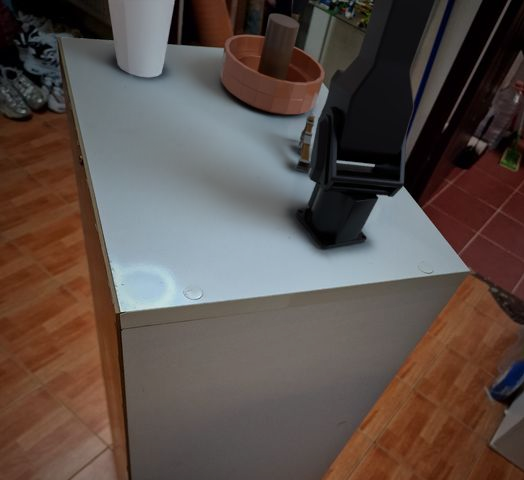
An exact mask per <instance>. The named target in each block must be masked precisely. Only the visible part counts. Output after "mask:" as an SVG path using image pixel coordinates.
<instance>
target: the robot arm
mask: <svg viewBox="0 0 524 480" xmlns="http://www.w3.org/2000/svg"><path fill="white" fill-rule="evenodd" d="M310 1H311V0H291V10H290V11H291V14H292V15H297V16H299V15H301V13H302V12H303V11H304V9H305V8H306V6H307V5H308V4H309V2H310ZM436 1H437V0H374V1H373V4H372V8H371V12H370V14H369V18H368V22H367V25H366V29H365V32H364V35H363V39H362V42H361V46H360V49H359V52H358V54H357V56H356V57H355V59H353V61H352V62H351V63H350V64H349V65H348V66H347V67H346V68H345V70H344V69H339V68H338V69H337V70H336V71H335V72H334V73H333V75H332V76H331V78H330V82H329V87H328V91H327V95H326V96H327V97H326V99H325V103H324V105H323V107H322V110H321V113H320V115H319V116H318V118H317V124H316V128H315V132H314V138H313V142H312V143H313V144H312V149H311V153H310V158H309V161H310V170H309V175H308V178H309V180H310V181H312V182H314V183H315V184H314V187H313V189H312V192H311V195H310V198H309V200H308V202H307V206H308V207H304V208H298V209H297V210H296V211H295V216H296V217H297V218H298V220H299V221H300V222H301V223H302V225H303V226H304V228H305V229H306V230H307V231H308V232H309V234H310V235H311V236H312V238H313V239H314V241H315V242H316V243H317V245H318V246H319V247H320V248H321V249H323V250H329V249H335V248H341V247H344V246H345V247H346V246H351V245H356V244H362V243H365V242H367V239H368V237H367V236H366V235H365V233H364V232H363V228H364V227H365V225H366V223H367V221H368V220H369V217H370V215H371V214H372V211H373V209H374V208H375V206H376V204H377V202H378V200H379V196H385V197H386V196H387V197H388V198H394V197H395V195H396V194H398V192H400V190H402V188H403V187H404V184H405V171H406V155H407V153H406V152H407V136H408V129H409V126H410V123H411V120H412V116H413V113H414V109H415V100H414V91H413V84H412V83H413V82H412V75H411V72H412V68H413V65H414V62H415V59H416V55H417V53H418V50H419V48H420V45H421V42H422V39H423V37H424V35H425V31H426V29H427V26H428V23H429V20H430V18H431V15H432V12H433V10H434V7H435V4H436ZM338 161H339V162H338ZM343 162H349V163H343ZM352 163H355V164H352ZM356 163H358V164H356ZM361 164H363V165H361ZM364 164H365V165H364ZM366 164H367V165H366ZM370 165H371V166H370ZM372 165H374V166H372Z"/></svg>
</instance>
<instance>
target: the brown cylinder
mask: <svg viewBox="0 0 524 480" xmlns="http://www.w3.org/2000/svg"><path fill="white" fill-rule="evenodd" d="M266 24H267V25H266V29H265V33H264V37H265V38H264V43H263V47H262V52H261V57H260V62H259V66H258V71H257V72H259V73H261V74H263V75H266V76H269V77H272V78H275V79H279V80H284V81H285V79H286V75H287V72H288V68H289V64H290V60H291V56H292V52H293V49H294V47H295V45H296V41H297V37H298V33H299V29H300V23H299V22H298V21H297V20H296V19H294V18H292V17H290V16H288V15H285V14H282V13H270V14H269V16H268V20H267V23H266Z"/></svg>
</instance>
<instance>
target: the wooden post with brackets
mask: <svg viewBox="0 0 524 480" xmlns="http://www.w3.org/2000/svg"><path fill="white" fill-rule="evenodd" d="M315 119H316V116H315V115H314V114H313V113H312V112H308V114H307V117H306V118H305V120H306V121H305V125H304V127H303V130H302V131H301V133H300V137H299V143H298V145H297V146H299V147H298V151H297V152H298V153H299V154H300V158H298V161H297V163H296V165H295V170H296V171H301V172H305V173H310V171H311V168H310V161H311V160H310V147H311V145H312V138H313V133H312V131H313V127H314V126H315V125H314V124H315Z"/></svg>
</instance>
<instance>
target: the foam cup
mask: <svg viewBox="0 0 524 480" xmlns="http://www.w3.org/2000/svg"><path fill="white" fill-rule="evenodd" d="M175 1H176V0H107V2H108V8H109V9H108V10H109V15H110V22H111V28H112V29H111V30H112V37H113V42H114V49H115V50H114V51H115V58H116V61H117V63H116V64H117V66H118V67H119V68H120V69H121V70H122V71H124V72H126V73H128V74H129V75H133V76H136V77H141V78H154V77H158V76H160V75H161V74H162V73H163V69H164V65H165V59H166V53H167V46H168V43H169V37H170V36H169V35H170V29H171V25H172V20H173V19H172V17H173V13H174V7H175Z"/></svg>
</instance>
